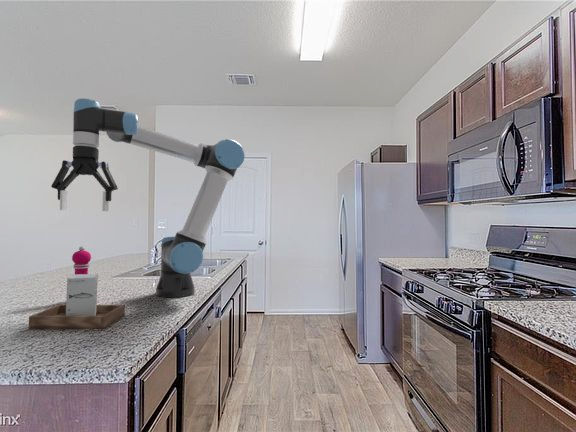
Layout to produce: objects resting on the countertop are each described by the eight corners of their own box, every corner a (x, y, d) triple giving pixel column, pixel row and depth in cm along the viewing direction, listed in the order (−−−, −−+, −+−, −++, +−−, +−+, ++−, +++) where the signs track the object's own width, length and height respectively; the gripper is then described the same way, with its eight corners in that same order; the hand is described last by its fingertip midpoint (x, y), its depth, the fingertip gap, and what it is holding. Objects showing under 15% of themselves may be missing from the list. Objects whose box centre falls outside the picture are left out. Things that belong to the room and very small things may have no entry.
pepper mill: (64, 302, 129) (65, 246, 129) (82, 298, 135) (83, 245, 136) (78, 304, 126) (79, 247, 126) (96, 300, 133) (97, 246, 133)
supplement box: (64, 323, 101) (65, 278, 101) (69, 316, 108) (70, 274, 108) (94, 321, 104) (95, 276, 104) (97, 314, 110) (98, 273, 111)
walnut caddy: (124, 316, 113) (124, 304, 113) (104, 329, 99) (104, 317, 99) (58, 315, 112) (58, 304, 112) (28, 329, 98) (28, 316, 98)
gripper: (128, 150, 125) (127, 211, 125) (54, 148, 123) (52, 210, 123) (119, 145, 117) (118, 211, 117) (40, 143, 116) (38, 209, 116)
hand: (84, 210), depth 120 cm, fingers open, 13 cm apart
